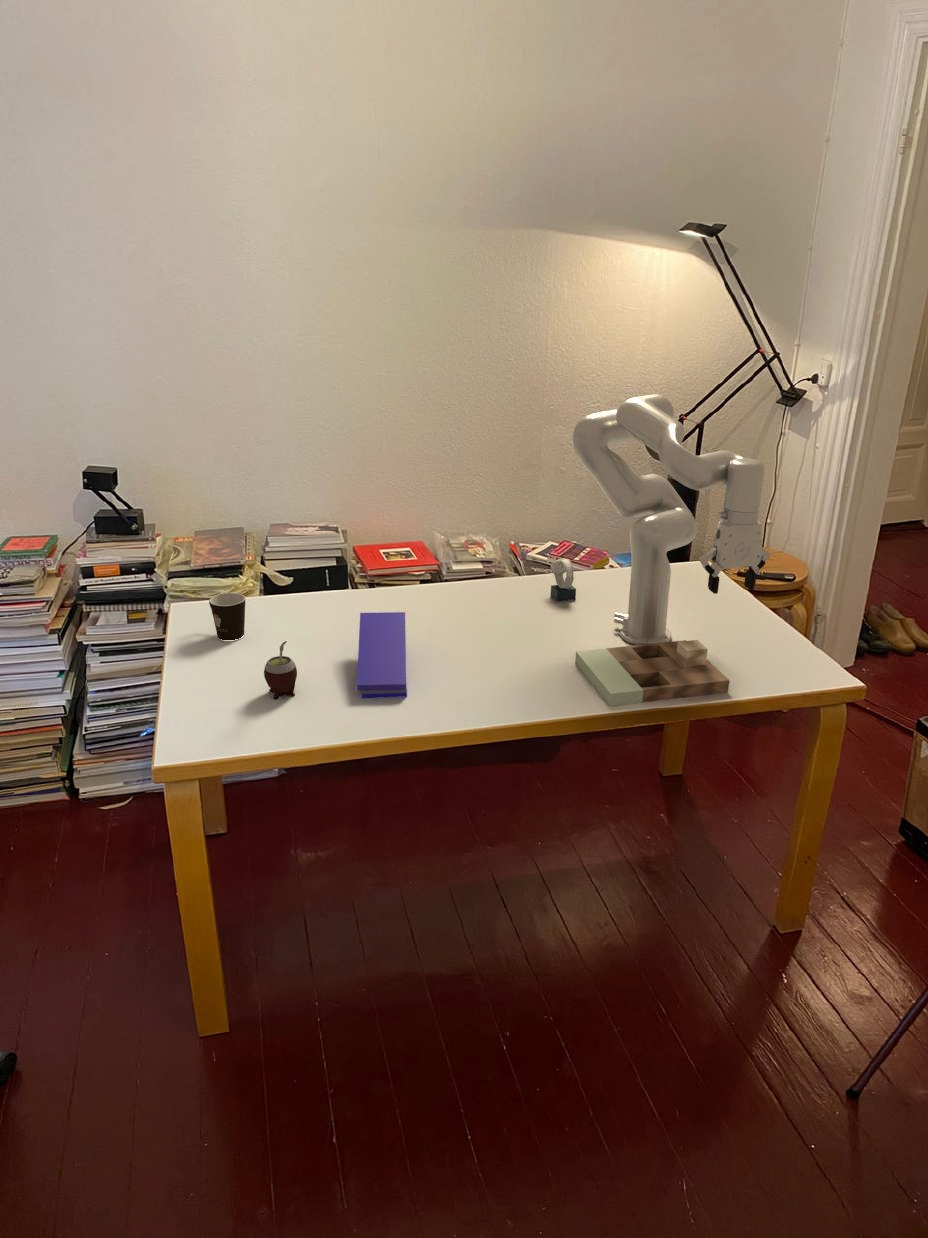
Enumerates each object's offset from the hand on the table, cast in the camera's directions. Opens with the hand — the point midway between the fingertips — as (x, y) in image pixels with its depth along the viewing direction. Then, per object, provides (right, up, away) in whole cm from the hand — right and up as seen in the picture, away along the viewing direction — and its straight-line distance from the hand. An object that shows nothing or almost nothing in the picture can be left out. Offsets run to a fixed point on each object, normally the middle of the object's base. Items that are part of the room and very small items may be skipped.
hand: (730, 589), depth 225 cm
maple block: (-8, -16, +5) cm, 19 cm away
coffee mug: (-119, -11, +25) cm, 122 cm away
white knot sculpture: (-33, -1, +48) cm, 59 cm away
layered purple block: (-79, -19, +6) cm, 81 cm away
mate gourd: (-100, -23, -5) cm, 103 cm away
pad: (-28, -21, +2) cm, 35 cm away
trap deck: (-14, -20, +5) cm, 25 cm away
